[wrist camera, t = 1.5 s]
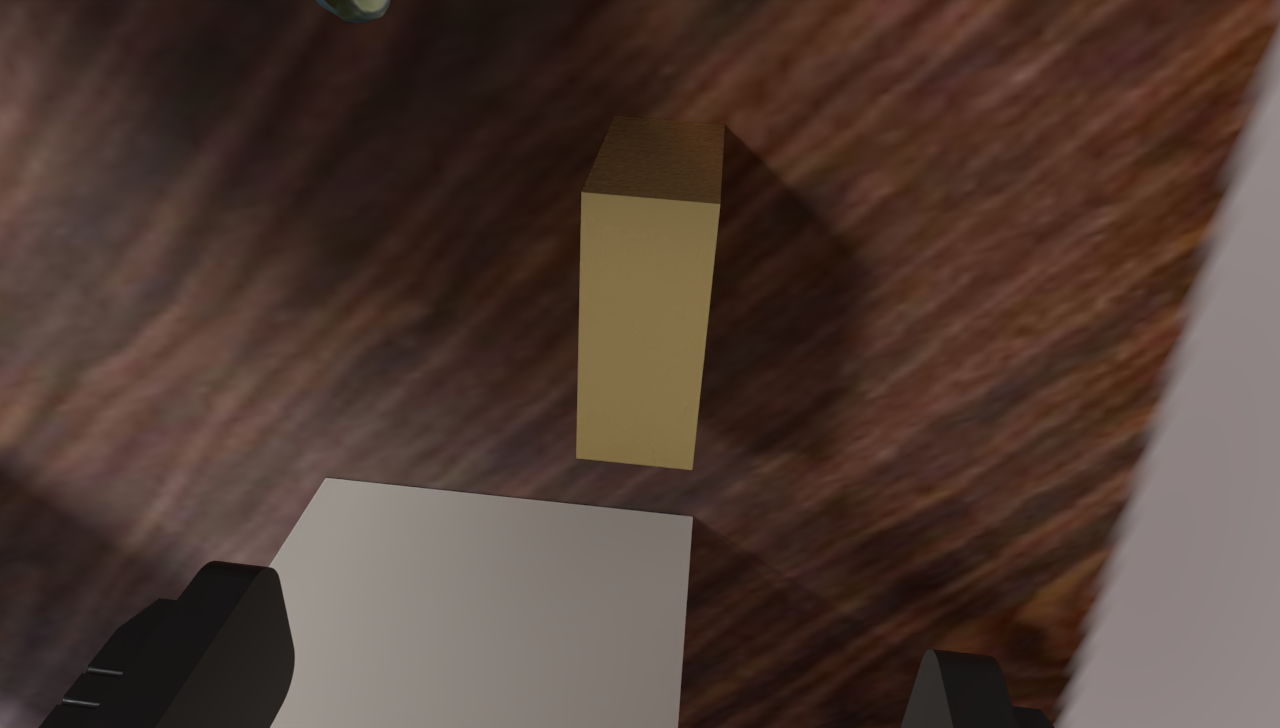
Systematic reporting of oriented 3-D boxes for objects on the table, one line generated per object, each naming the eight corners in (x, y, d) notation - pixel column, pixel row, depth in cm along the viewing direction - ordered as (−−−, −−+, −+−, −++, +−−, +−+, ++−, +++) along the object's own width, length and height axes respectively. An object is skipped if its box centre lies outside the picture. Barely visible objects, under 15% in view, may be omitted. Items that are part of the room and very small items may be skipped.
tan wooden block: (614, 114, 20) (581, 192, 16) (724, 124, 20) (720, 204, 16) (606, 342, 23) (576, 458, 19) (701, 352, 23) (692, 469, 19)
